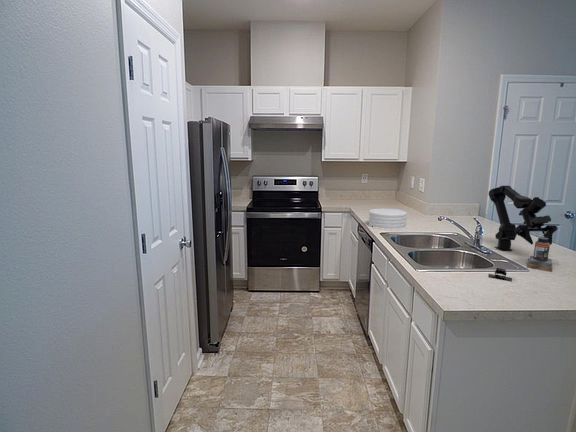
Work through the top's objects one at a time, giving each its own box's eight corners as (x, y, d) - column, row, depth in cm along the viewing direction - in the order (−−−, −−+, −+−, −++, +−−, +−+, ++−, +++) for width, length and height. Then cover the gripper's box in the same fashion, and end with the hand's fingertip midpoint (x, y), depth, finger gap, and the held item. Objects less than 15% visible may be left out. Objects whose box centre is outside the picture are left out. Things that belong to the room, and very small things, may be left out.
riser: (526, 267, 167) (527, 259, 167) (528, 262, 175) (529, 255, 174) (551, 272, 161) (552, 264, 160) (552, 266, 169) (553, 259, 168)
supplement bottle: (536, 256, 171) (540, 235, 169) (550, 260, 166) (553, 238, 164) (530, 258, 168) (533, 237, 166) (543, 262, 163) (547, 240, 161)
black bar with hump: (483, 278, 155) (484, 269, 154) (485, 273, 161) (486, 264, 160) (515, 284, 148) (516, 274, 147) (515, 279, 154) (517, 269, 153)
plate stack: (375, 230, 244) (376, 215, 242) (364, 222, 272) (364, 208, 269) (412, 229, 246) (413, 214, 244) (397, 221, 274) (397, 208, 271)
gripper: (520, 209, 169) (532, 236, 160) (558, 209, 168) (571, 236, 159) (509, 221, 178) (519, 246, 169) (544, 221, 177) (556, 247, 169)
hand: (541, 244), depth 166 cm, fingers open, 9 cm apart
